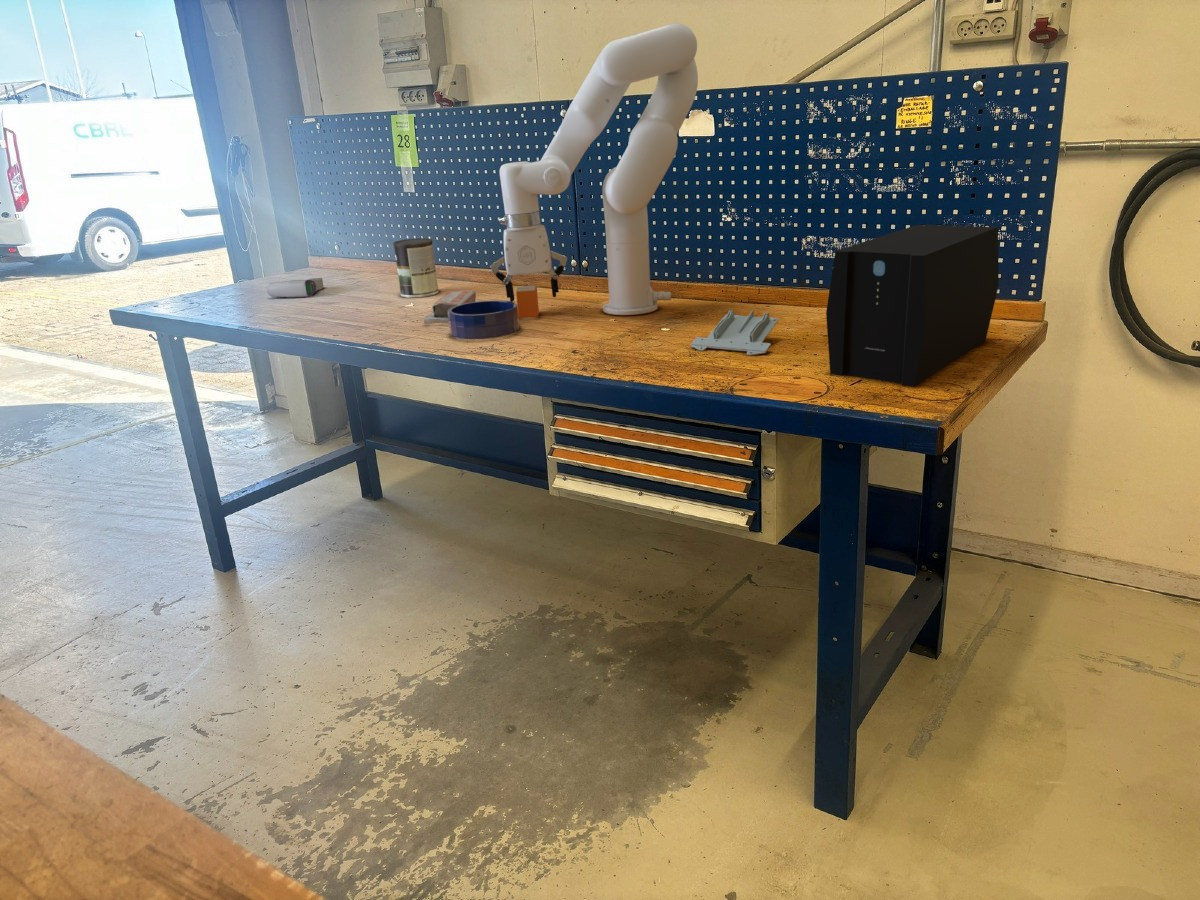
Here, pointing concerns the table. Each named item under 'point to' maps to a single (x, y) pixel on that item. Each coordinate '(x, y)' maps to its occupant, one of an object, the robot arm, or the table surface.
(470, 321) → the bowl
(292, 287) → the infrared thermometer
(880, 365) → the uninterruptible power supply
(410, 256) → the coffee can
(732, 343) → the metal bracket
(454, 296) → the packaged product
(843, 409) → the table surface
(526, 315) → the carton
